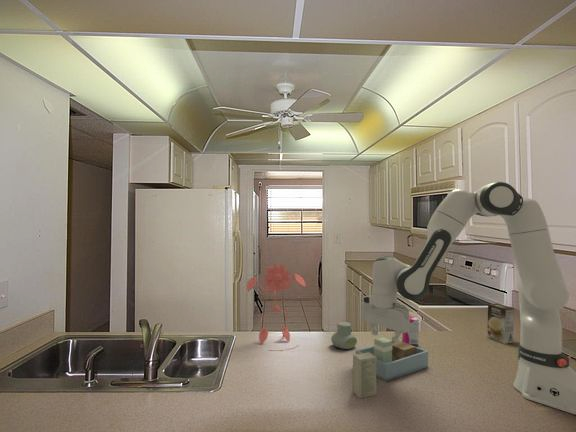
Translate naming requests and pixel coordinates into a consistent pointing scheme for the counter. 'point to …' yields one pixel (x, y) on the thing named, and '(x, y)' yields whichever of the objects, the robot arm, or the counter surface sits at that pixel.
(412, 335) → the supplement box
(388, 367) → the tote
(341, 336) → the air freshener
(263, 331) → the figurine
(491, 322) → the coffee box
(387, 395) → the counter surface
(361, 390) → the skincare box
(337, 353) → the counter surface
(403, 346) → the walnut block
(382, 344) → the carton
